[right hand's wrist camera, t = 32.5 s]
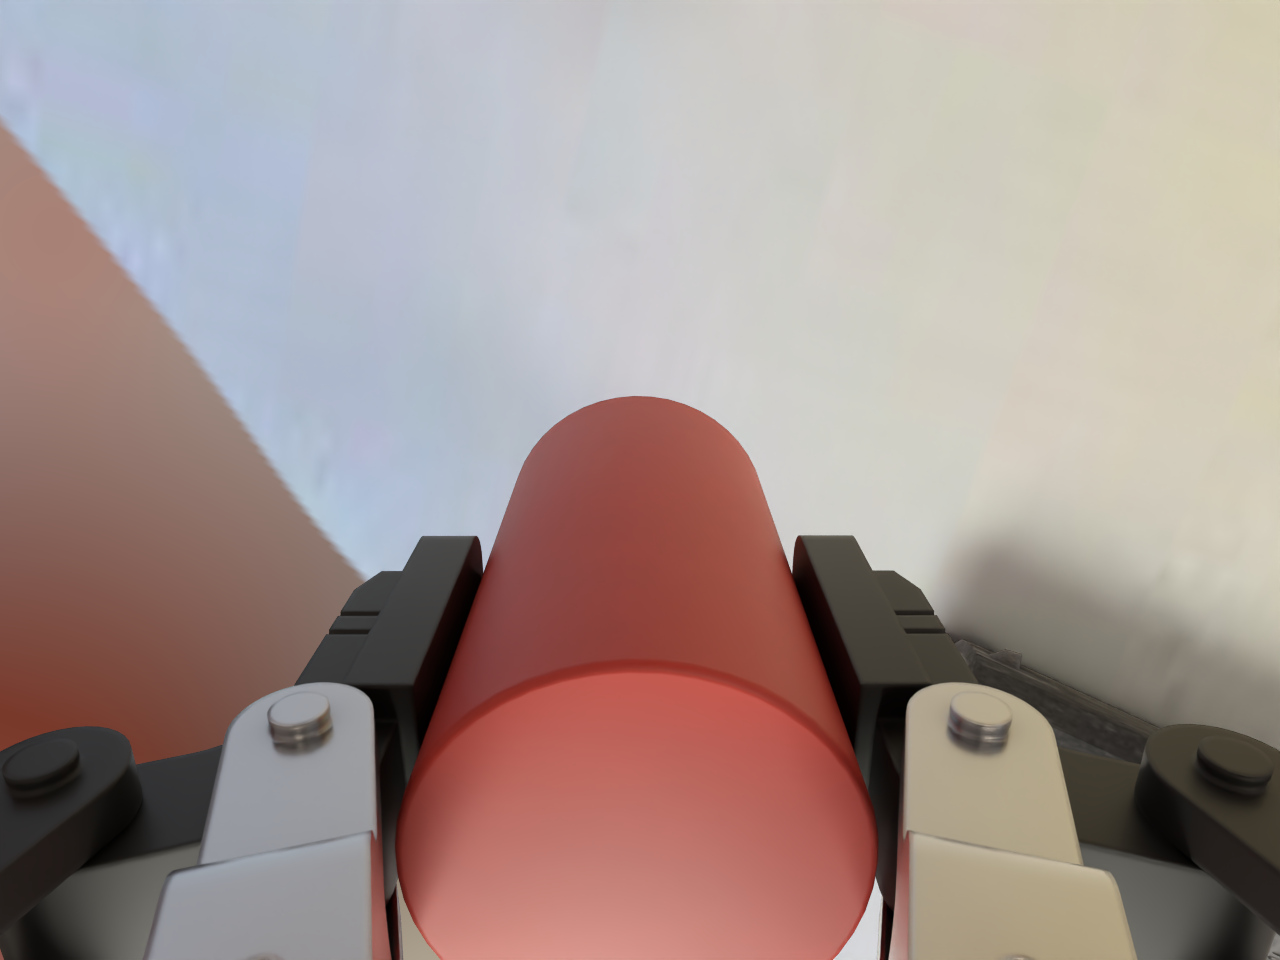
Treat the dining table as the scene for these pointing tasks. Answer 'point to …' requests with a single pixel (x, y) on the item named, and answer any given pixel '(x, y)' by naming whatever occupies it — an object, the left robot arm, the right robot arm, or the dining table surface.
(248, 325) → the dining table surface
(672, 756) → the cylinder
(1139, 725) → the handgun
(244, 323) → the dining table surface
